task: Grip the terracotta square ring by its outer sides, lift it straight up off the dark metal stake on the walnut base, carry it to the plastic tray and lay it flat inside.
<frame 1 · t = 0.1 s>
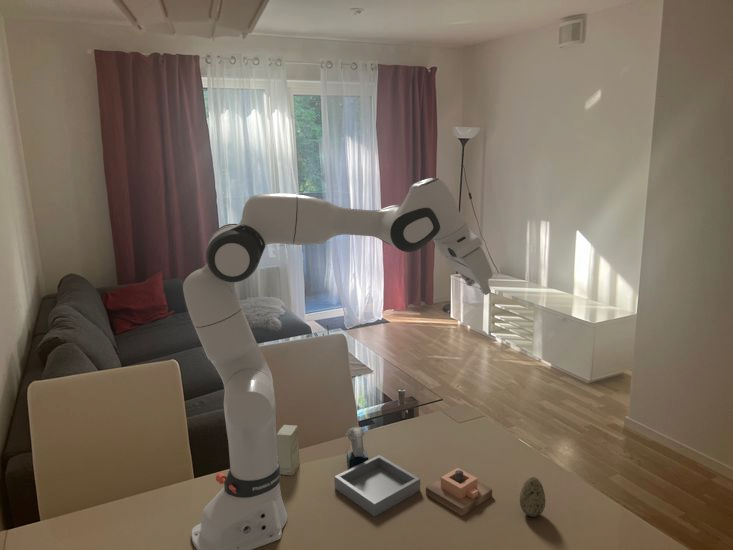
hand: (479, 288, 131), 54 cm above the table, tool tilted 30°, fingers open, 8 cm apart
watch: (357, 464, 155), on the table
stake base: (458, 495, 140), on the table
ring: (458, 488, 139), point 2 cm above the table, touching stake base
skincare box: (289, 469, 153), on the table
decorative egg: (531, 515, 132), on the table
tray: (377, 489, 143), on the table
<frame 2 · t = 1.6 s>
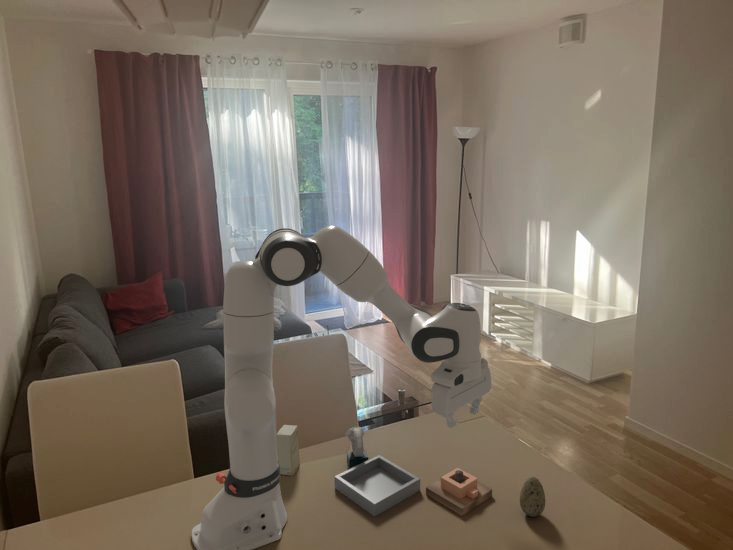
hand: (463, 419, 136), 21 cm above the table, tool pointing down, fingers open, 8 cm apart
nothing on the table moved.
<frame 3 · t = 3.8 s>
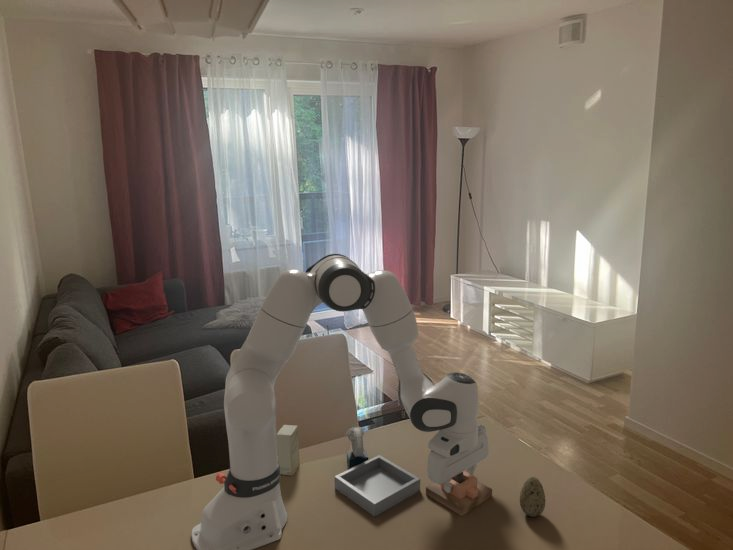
hand: (458, 484, 139), 3 cm above the table, tool pointing down, fingers closed on ring, 7 cm apart
ring: (458, 488, 139), point 2 cm above the table, touching gripper, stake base
everything else where it was.
when the fingers open (3 cm above the table, at t = 10.5 s): ring drops 2 cm, resting on tray.
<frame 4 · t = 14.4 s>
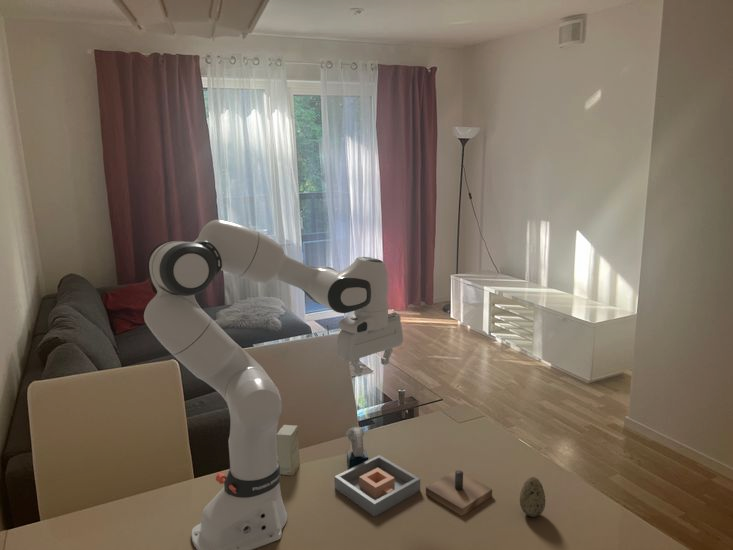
hand: (372, 368, 143), 31 cm above the table, tool pointing down, fingers open, 8 cm apart
ring: (376, 487, 143), point 1 cm above the table, touching tray
everything else where it was.
at the end: ring inside the target area on the tray (0.1 cm from its centre), point 0.6 cm above the tray's base; ring tilted 0°; the gripper is holding nothing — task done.
